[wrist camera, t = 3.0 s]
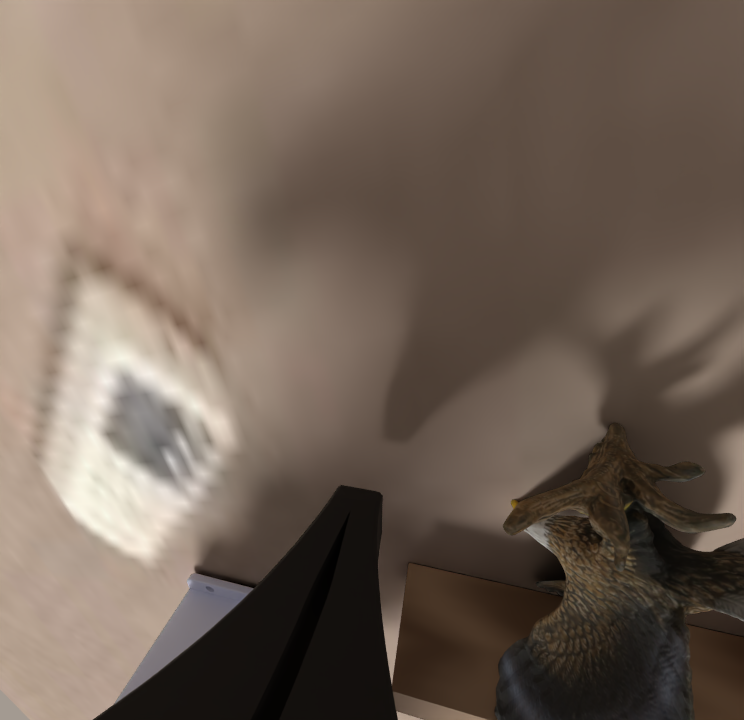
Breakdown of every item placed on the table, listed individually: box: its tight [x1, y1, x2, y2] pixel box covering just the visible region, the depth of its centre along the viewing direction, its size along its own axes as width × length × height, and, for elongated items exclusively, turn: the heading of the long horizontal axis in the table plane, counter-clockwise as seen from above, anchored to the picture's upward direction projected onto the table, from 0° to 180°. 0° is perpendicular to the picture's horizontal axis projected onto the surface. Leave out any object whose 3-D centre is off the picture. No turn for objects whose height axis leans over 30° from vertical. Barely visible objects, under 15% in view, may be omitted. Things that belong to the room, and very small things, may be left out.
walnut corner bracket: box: [392, 563, 744, 720], centre depth 10 cm, size 15×16×4 cm
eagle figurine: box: [494, 423, 744, 720], centre depth 10 cm, size 8×7×9 cm
